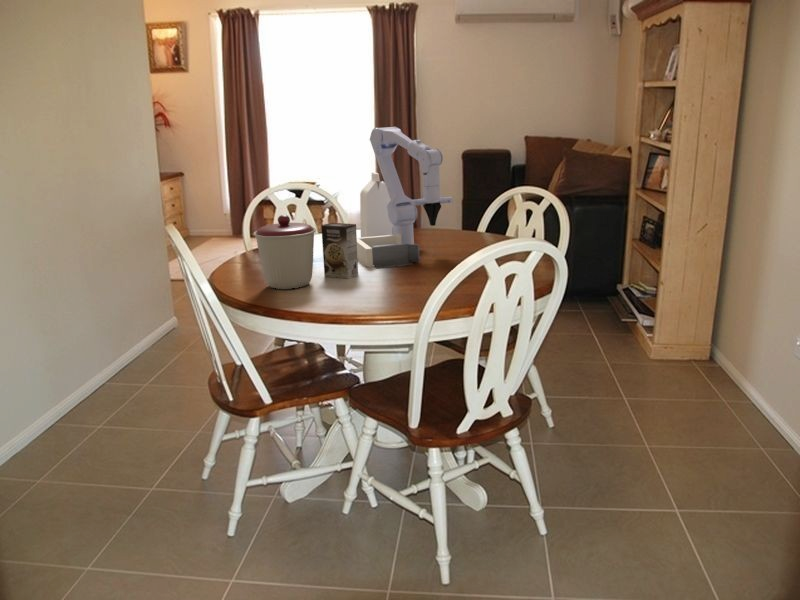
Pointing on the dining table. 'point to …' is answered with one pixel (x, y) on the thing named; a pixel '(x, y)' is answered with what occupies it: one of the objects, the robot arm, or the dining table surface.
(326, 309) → the dining table surface
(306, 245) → the canister
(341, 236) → the coffee box
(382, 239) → the shallow white tray
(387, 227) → the milk
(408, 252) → the grey long angular piece
